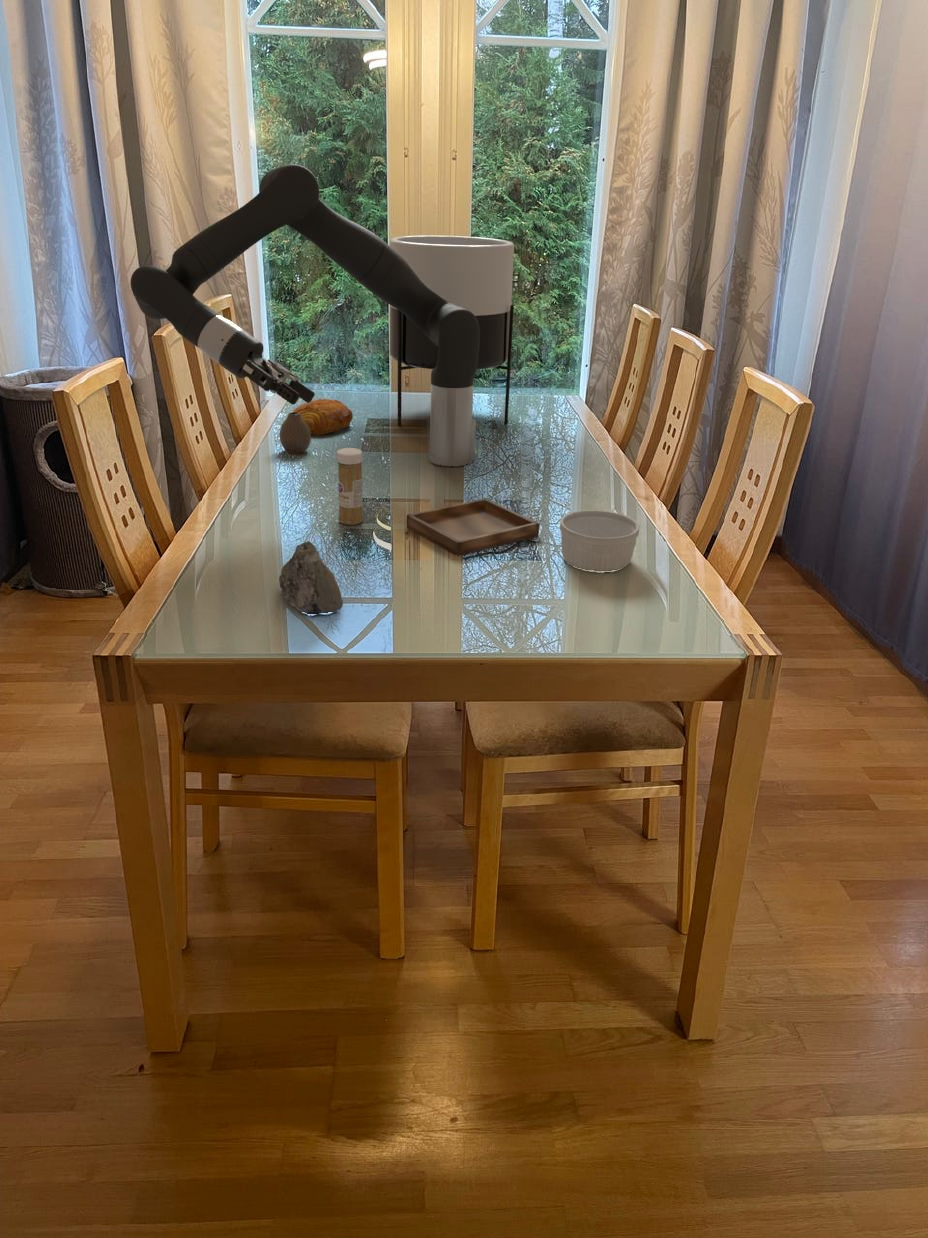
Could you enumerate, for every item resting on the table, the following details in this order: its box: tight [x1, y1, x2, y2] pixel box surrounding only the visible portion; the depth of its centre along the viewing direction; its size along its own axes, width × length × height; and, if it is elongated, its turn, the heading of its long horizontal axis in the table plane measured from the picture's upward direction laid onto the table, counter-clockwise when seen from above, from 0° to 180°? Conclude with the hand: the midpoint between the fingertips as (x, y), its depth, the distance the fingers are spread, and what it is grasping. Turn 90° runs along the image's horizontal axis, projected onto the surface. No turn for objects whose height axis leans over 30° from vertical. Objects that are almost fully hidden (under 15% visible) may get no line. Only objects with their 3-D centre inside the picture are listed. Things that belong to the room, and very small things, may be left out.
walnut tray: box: [406, 498, 540, 557], centre depth 167 cm, size 18×16×2 cm
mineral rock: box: [278, 540, 344, 615], centre depth 138 cm, size 13×11×10 cm
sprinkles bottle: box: [336, 447, 364, 526], centre depth 168 cm, size 5×5×14 cm
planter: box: [389, 235, 515, 427], centre depth 232 cm, size 31×31×43 cm
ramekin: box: [559, 509, 640, 571], centre depth 156 cm, size 13×13×7 cm
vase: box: [279, 411, 312, 455], centre depth 208 cm, size 7×7×9 cm
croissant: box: [292, 398, 354, 436], centre depth 228 cm, size 14×16×8 cm
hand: (304, 399), depth 166 cm, fingers open, 8 cm apart
